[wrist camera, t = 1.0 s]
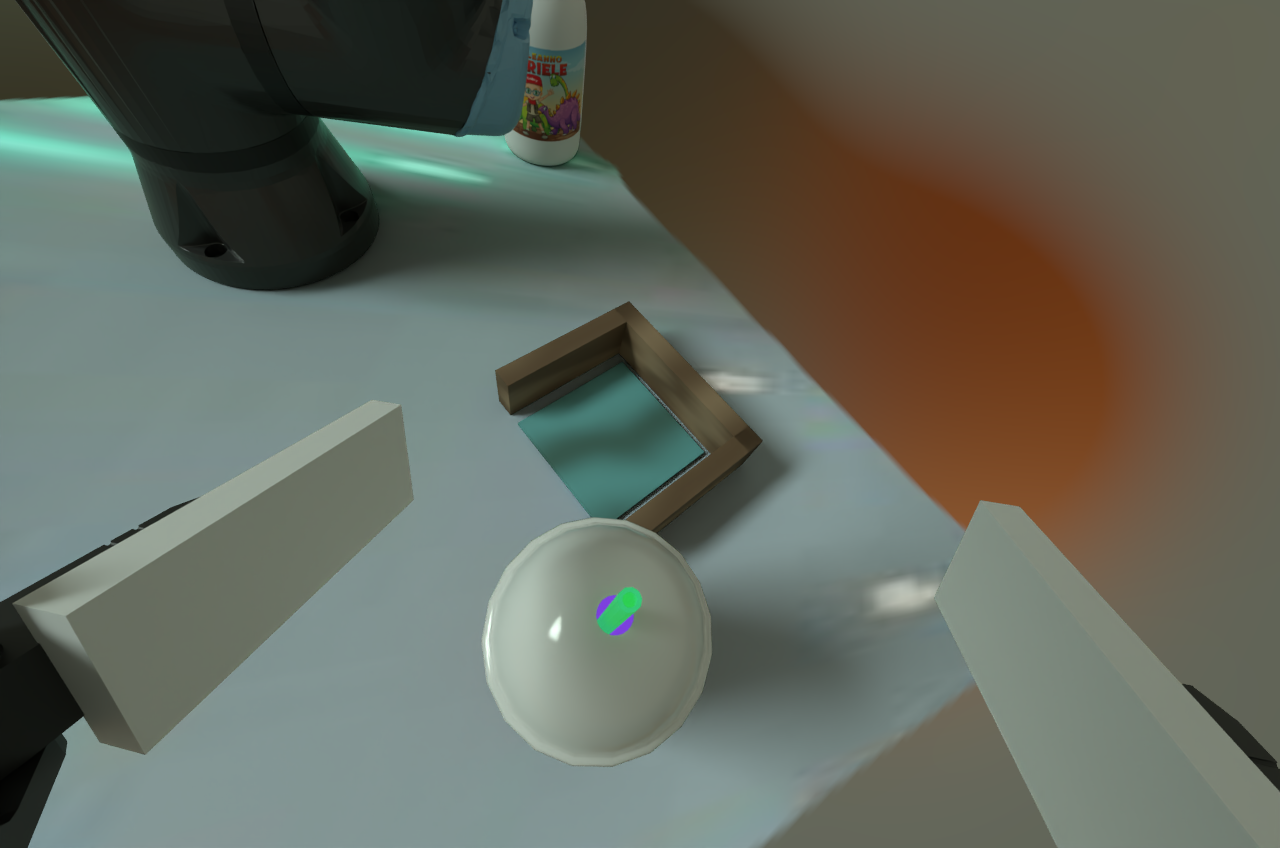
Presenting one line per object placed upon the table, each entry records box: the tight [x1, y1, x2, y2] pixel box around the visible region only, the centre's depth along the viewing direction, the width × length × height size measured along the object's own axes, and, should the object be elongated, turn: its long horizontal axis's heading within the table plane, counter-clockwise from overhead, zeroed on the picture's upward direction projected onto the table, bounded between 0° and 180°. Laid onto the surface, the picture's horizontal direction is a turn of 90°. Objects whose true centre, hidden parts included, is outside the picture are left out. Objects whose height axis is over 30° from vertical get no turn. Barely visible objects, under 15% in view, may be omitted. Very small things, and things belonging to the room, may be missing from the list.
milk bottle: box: [505, 0, 587, 166], centre depth 44 cm, size 8×8×20 cm
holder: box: [495, 302, 762, 533], centre depth 36 cm, size 15×12×4 cm
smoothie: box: [481, 517, 712, 767], centre depth 21 cm, size 8×8×20 cm
